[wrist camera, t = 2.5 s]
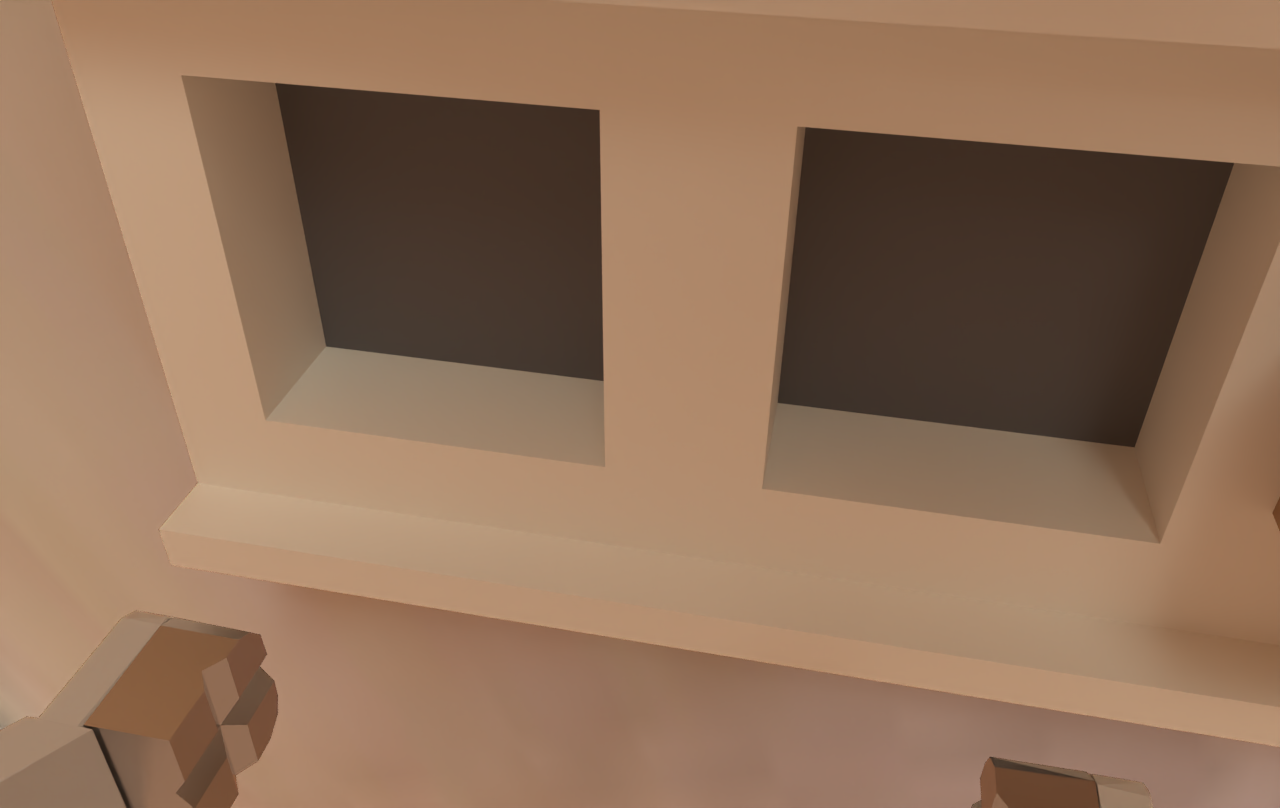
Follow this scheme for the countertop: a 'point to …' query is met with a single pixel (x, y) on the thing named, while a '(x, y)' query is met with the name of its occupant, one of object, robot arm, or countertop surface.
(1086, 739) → the countertop surface
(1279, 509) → the walnut block
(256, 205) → the trap track
